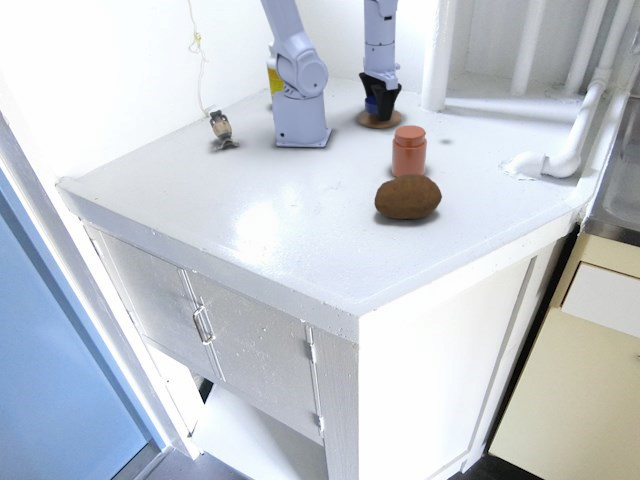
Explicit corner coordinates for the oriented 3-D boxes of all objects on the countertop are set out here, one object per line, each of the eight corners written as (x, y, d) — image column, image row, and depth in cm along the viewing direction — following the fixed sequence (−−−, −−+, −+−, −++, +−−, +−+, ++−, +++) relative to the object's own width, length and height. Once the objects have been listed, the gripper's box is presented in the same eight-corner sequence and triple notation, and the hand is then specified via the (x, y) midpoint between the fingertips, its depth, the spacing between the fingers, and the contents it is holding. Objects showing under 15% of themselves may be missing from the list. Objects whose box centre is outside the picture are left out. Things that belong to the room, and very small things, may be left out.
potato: (370, 205, 72) (370, 168, 68) (432, 199, 73) (435, 161, 69) (378, 229, 68) (378, 191, 63) (444, 222, 68) (448, 183, 64)
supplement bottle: (301, 112, 101) (294, 47, 92) (271, 113, 101) (261, 48, 93) (304, 100, 106) (297, 37, 97) (275, 101, 106) (266, 39, 97)
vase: (210, 140, 92) (202, 109, 88) (237, 135, 93) (230, 105, 89) (212, 151, 89) (204, 120, 85) (241, 147, 90) (234, 115, 86)
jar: (390, 179, 78) (391, 138, 73) (392, 163, 82) (393, 124, 77) (424, 180, 78) (427, 139, 73) (424, 164, 82) (427, 124, 77)
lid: (400, 109, 95) (401, 100, 93) (377, 117, 92) (377, 107, 91) (381, 101, 98) (381, 91, 97) (358, 108, 96) (358, 99, 95)
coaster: (355, 128, 94) (355, 125, 94) (360, 110, 101) (360, 107, 100) (400, 128, 93) (400, 125, 92) (402, 111, 99) (402, 108, 99)
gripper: (414, 49, 82) (411, 124, 92) (386, 29, 93) (385, 99, 102) (377, 54, 81) (377, 130, 90) (352, 33, 91) (354, 104, 101)
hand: (379, 114), depth 96 cm, fingers closed on lid, 6 cm apart
